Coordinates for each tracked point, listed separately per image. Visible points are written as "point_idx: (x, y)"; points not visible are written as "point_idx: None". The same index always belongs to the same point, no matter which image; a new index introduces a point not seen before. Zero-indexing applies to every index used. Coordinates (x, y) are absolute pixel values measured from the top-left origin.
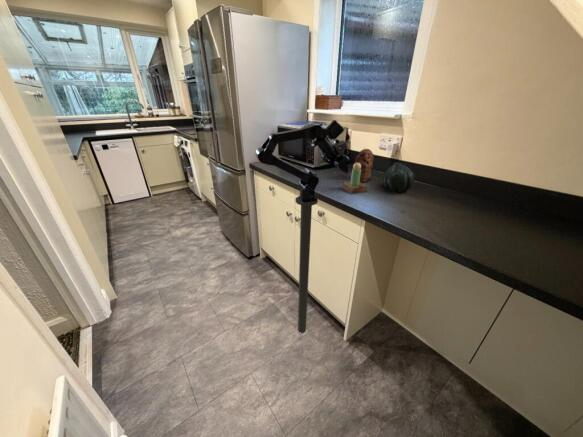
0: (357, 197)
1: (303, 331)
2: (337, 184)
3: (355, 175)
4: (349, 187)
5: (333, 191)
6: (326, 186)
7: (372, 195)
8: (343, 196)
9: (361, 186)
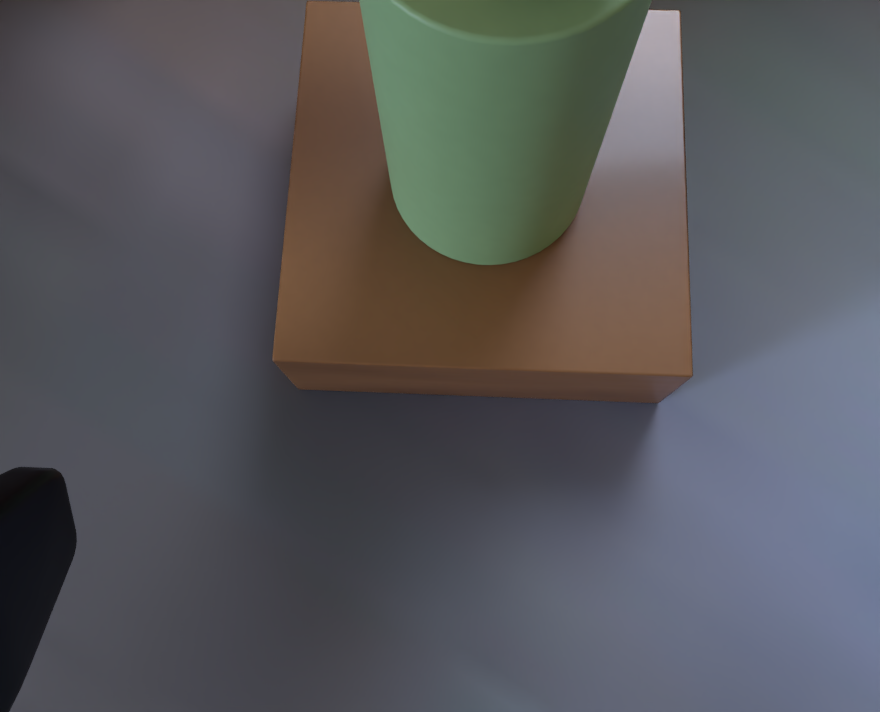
0: (868, 395)
1: None
2: (72, 368)
3: (606, 100)
4: (589, 377)
5: (407, 693)
6: (63, 680)
7: (848, 85)
8: (743, 641)
9: (655, 116)
